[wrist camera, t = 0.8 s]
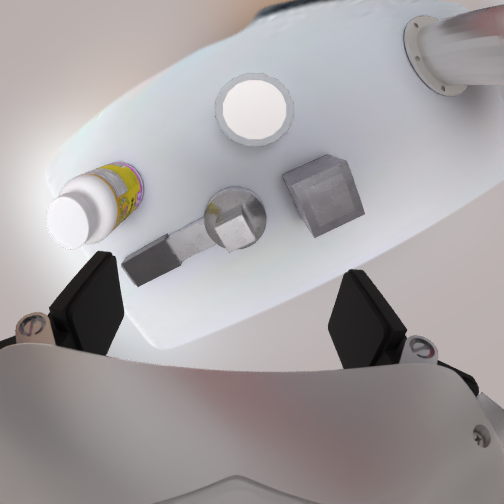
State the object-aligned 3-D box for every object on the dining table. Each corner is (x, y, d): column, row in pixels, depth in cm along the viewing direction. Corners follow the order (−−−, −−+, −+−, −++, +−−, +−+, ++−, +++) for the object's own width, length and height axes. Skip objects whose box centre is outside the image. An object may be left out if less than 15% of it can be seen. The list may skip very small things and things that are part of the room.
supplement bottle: (119, 223, 32) (71, 274, 20) (88, 185, 29) (27, 219, 18) (156, 191, 31) (113, 230, 19) (123, 149, 28) (63, 167, 16)
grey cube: (327, 154, 30) (346, 161, 24) (344, 198, 32) (364, 213, 27) (281, 174, 31) (291, 185, 25) (301, 218, 33) (314, 237, 28)
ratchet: (248, 176, 31) (251, 187, 25) (274, 227, 33) (281, 248, 28) (117, 249, 33) (99, 271, 28) (146, 289, 36) (133, 315, 31)
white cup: (258, 154, 30) (264, 161, 23) (207, 122, 28) (198, 120, 21) (293, 107, 27) (309, 102, 21) (242, 73, 25) (244, 58, 19)
